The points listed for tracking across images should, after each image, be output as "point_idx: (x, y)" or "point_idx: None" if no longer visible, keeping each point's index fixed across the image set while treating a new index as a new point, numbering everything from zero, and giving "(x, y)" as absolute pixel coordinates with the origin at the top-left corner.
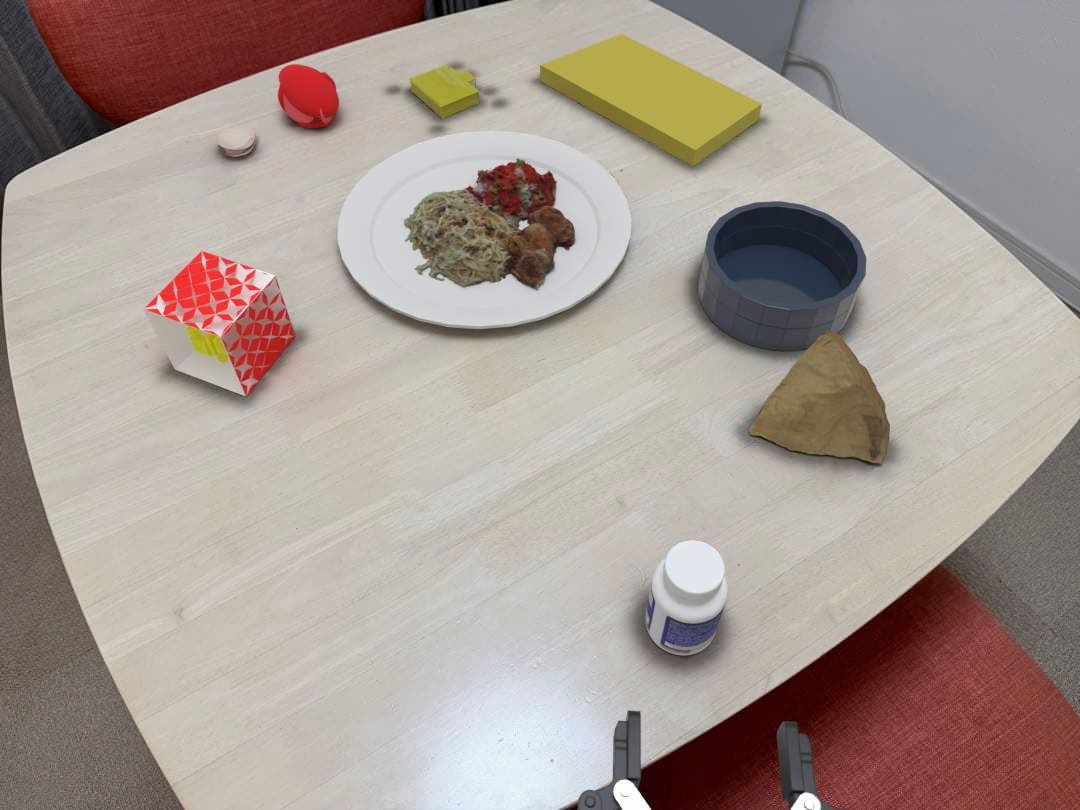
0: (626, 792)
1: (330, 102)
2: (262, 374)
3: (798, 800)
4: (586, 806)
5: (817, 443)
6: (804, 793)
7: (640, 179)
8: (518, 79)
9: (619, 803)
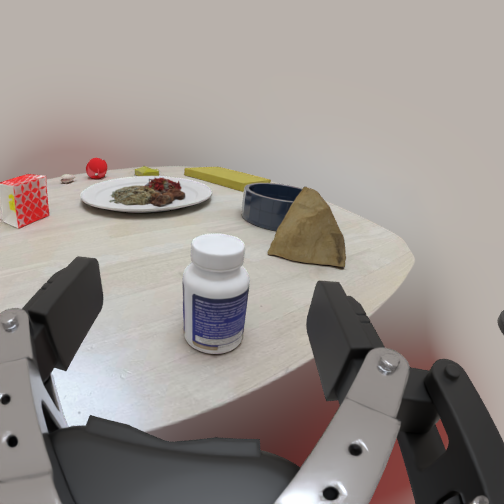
0: (7, 318)
1: (102, 167)
2: (28, 222)
3: (368, 359)
4: None
5: (308, 254)
6: (375, 349)
7: (219, 191)
8: (176, 174)
9: None
